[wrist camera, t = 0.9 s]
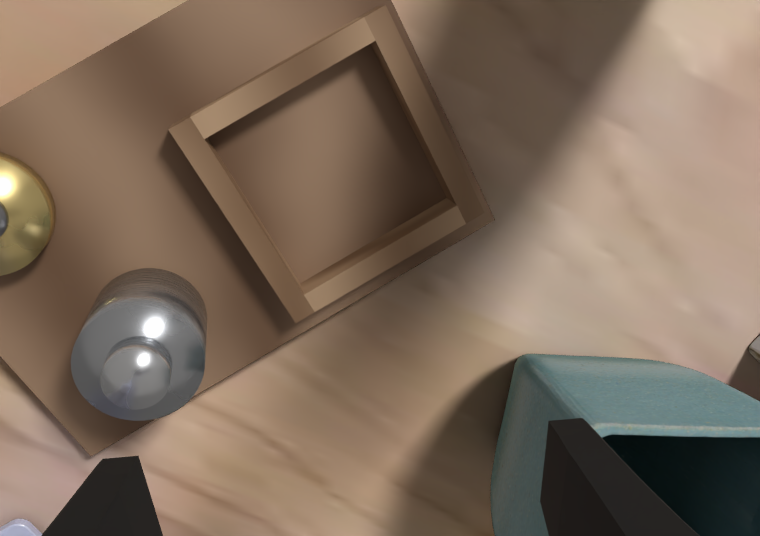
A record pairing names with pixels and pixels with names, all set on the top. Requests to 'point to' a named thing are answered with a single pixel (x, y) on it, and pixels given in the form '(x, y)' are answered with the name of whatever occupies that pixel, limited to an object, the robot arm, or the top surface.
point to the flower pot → (633, 438)
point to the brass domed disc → (23, 214)
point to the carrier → (231, 181)
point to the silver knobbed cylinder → (142, 346)
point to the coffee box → (755, 349)
